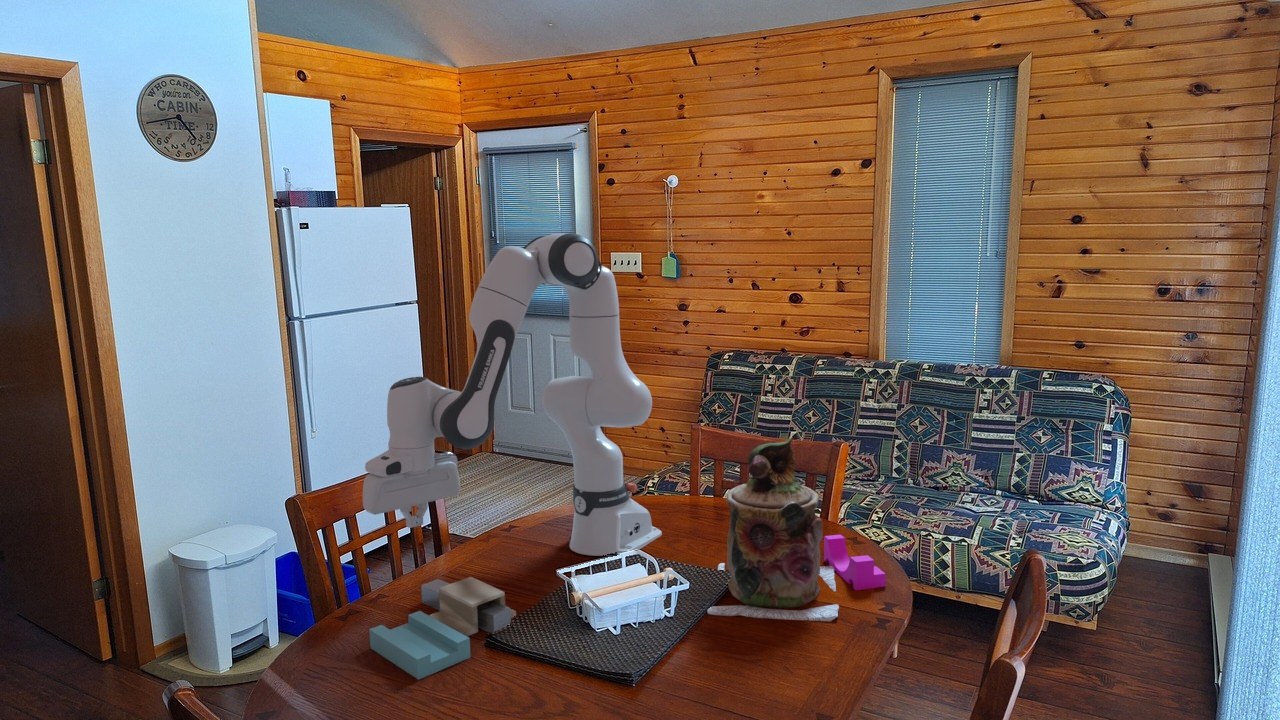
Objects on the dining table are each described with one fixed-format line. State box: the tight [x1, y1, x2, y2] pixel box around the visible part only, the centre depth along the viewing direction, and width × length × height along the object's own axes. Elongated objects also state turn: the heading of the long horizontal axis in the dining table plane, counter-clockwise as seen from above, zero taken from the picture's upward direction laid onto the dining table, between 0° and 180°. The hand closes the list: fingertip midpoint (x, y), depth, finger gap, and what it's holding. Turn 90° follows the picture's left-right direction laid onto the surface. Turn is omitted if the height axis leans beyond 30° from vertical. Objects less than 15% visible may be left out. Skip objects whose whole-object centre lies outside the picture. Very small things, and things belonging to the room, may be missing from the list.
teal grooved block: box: [368, 610, 471, 681], centre depth 143 cm, size 10×16×4 cm, turn 46°
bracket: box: [428, 576, 517, 637], centre depth 156 cm, size 12×11×6 cm
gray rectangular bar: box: [420, 578, 512, 633], centre depth 158 cm, size 4×22×4 cm, turn 50°
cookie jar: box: [706, 436, 840, 622], centre depth 161 cm, size 25×25×32 cm
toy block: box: [823, 534, 886, 591], centre depth 169 cm, size 15×6×8 cm, turn 11°
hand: (414, 525), depth 167 cm, fingers closed
